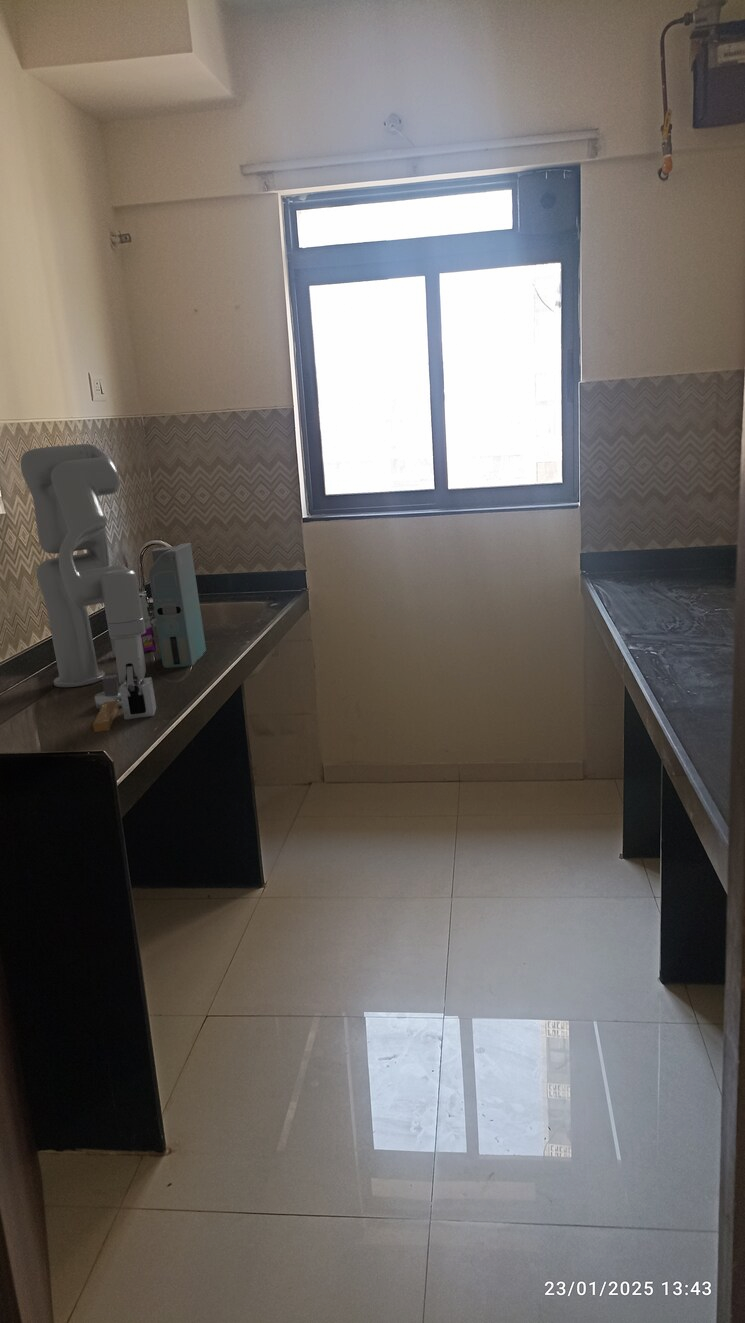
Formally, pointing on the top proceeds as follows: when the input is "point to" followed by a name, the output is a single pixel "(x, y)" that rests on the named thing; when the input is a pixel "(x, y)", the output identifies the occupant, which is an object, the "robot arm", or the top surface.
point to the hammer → (107, 703)
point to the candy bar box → (148, 635)
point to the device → (176, 606)
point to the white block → (147, 694)
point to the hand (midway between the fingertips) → (139, 708)
